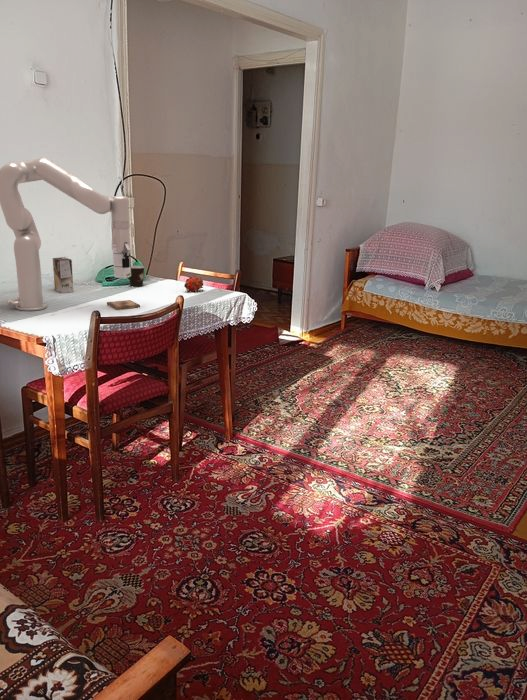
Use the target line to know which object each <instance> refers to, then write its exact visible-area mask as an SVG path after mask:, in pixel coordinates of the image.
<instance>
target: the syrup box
mask: <svg viewBox="0 0 527 700" xmlns="http://www.w3.org/2000/svg"><path fill="white" fill-rule="evenodd" d="M123 251H126V250H125V247H124V250H123ZM124 255H125V253H124ZM112 259H113V260H112V262H113V276H114V278H117V279H128V278H129V277H130V276H131V266H132V262H131V256H130V258H129V259H130V267H129V268H123V267H122V259H123V256H122V253H118V252H117V251H116V245H113V250H112Z"/></svg>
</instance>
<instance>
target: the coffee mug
mask: <svg viewBox="0 0 527 700" xmlns="http://www.w3.org/2000/svg"><path fill="white" fill-rule="evenodd" d="M144 275H145V266H143V265H131V276H130V277H128V278H127V280H128V281H129V286H130V287H132V286H133V288H140V287H143V286H144Z"/></svg>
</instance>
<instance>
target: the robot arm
mask: <svg viewBox="0 0 527 700" xmlns="http://www.w3.org/2000/svg"><path fill="white" fill-rule="evenodd" d="M37 181H44V182H45V183H47V184H49V185H50V186H52V187H54V188H55V189H57V190H59V191H60V192H62V194H65V195H67V196H68V197H70V198H71V199H73V200H75V201H76V202H78V203H80V204H82V205H83V206H85V207H87V208H88V209H89V210H91V211H92V212H94V213H96V214H98V215H105V214H107V213H111V250H112V251H113V245H116V251H117V252H118V253H122V256H123V259H122V267H123V268H129V267H130V259H129V258H130V257H131V240H130V239H131V238H130V230H131V226H130V225H131V223H130V201H129V200H130V199H129V197H128V196H125V195H124V196H123V195H114V196H112V195H105V194H101V193H99V192H97V191H96V190H95V189H93V188H91V187H90V186H88V185H87V184H86V183H85V182H83V181H82V180H81V179H80V178H79V177H78V176H76V175H75V174H73V173H71V172H70V171H69V170H67V169H65V168H64V167H62V166H60V165H59V164H57V163H55V162H54V161H53V160H52V159H50V158H48V157H43V156H42V157H39V158H36V159H31V160H25V161H24V160H23V161H16V162H15V161H11V162H7V163H6V164H3V166H1V167H0V208H1V211H2V213H3V216H4V219H5V223H6V225H7V226H8V227H9V228H10V229H11V230H12V232H13V234H14V236H15V239H14V241H13V252H14V260H15V267H16V269H15V270H16V279H17V280H16V281H17V288H18V289H17V291H18V296H17V297H16V298H15V299H9V300H7V301H6V303H7V305H12V306H15V309H17V310H20V311H27V312H28V311H41V310H44V309H47V308H48V304H47V303H46V302H44V296H43V283H42V281H43V280H42V271H41V260H40V259H41V258H40V248H41V246H42V240H41V237H40V235H39V231H38V228H37V225H36V223H35V220H34V218H33V215H32V214H31V212H30V211H29V209H27V208H26V207H25V205H24V203H23V199H22V196H21V194H20V191H19V189H18V187H19V186H18V185H20V184H25V183H29V182H30V183H31V182H37ZM124 247H125V250H126V251H123V250H124ZM124 253H125V255H124Z"/></svg>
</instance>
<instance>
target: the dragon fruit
mask: <svg viewBox="0 0 527 700" xmlns="http://www.w3.org/2000/svg"><path fill="white" fill-rule="evenodd" d="M183 287H184V288H185V290H186V292H190V291H191V292H195V291H196V292H199V291H200V289H202V288H204V279H202V277H200V276H198V277H197V276H196V275H194V277H193V276H190V277H189V278H186V279H185V283H184V286H183ZM198 290H199V291H198Z"/></svg>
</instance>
